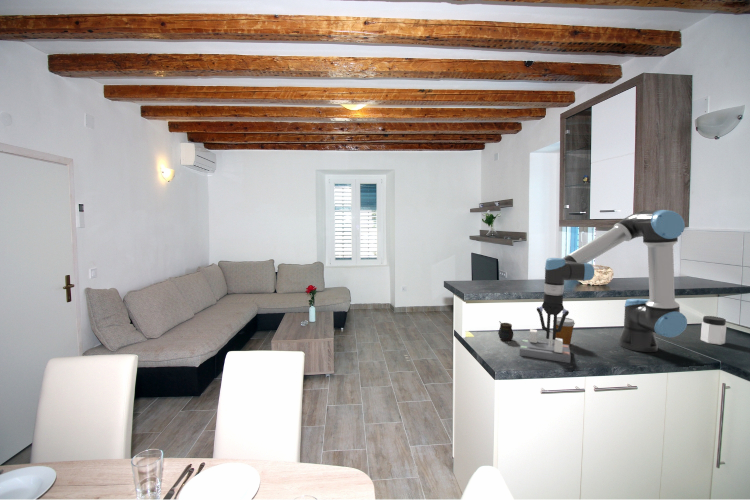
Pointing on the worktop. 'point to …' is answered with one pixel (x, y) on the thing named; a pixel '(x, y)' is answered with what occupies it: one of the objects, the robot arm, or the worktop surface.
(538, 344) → the panel
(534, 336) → the block
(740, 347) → the worktop surface
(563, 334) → the disposable coffee cup
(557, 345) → the block
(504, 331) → the mate gourd
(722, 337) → the jar
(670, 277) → the robot arm
